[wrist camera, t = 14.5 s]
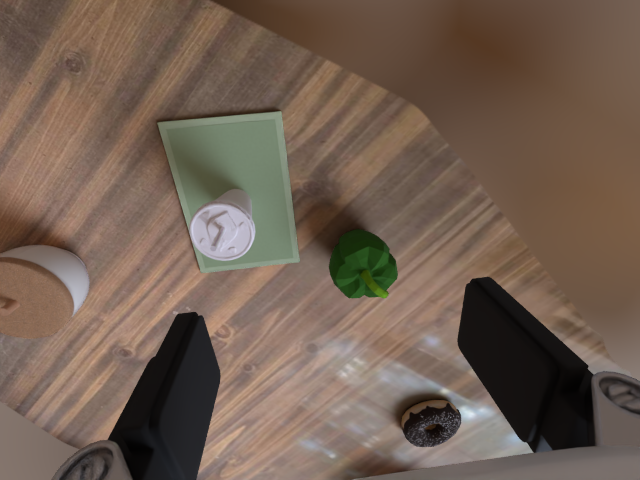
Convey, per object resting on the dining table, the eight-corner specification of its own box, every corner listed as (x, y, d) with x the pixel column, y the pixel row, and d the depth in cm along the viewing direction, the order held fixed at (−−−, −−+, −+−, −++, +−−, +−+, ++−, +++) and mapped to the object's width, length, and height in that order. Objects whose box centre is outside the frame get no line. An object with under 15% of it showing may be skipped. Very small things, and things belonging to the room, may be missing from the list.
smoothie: (268, 187, 39) (257, 232, 26) (254, 231, 41) (239, 292, 28) (217, 170, 37) (180, 209, 25) (206, 217, 40) (167, 274, 27)
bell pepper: (314, 239, 43) (321, 277, 34) (367, 210, 42) (388, 242, 33) (342, 281, 46) (354, 326, 37) (390, 256, 45) (416, 296, 36)
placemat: (158, 122, 35) (156, 122, 34) (281, 111, 35) (281, 111, 35) (201, 271, 43) (200, 273, 43) (299, 260, 44) (299, 262, 44)
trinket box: (25, 296, 43) (-41, 345, 34) (7, 226, 38) (-73, 263, 30) (108, 303, 44) (66, 352, 36) (101, 237, 40) (50, 275, 32)
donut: (392, 409, 60) (398, 428, 57) (448, 387, 59) (459, 406, 56) (408, 438, 65) (415, 458, 61) (461, 419, 64) (471, 438, 60)
